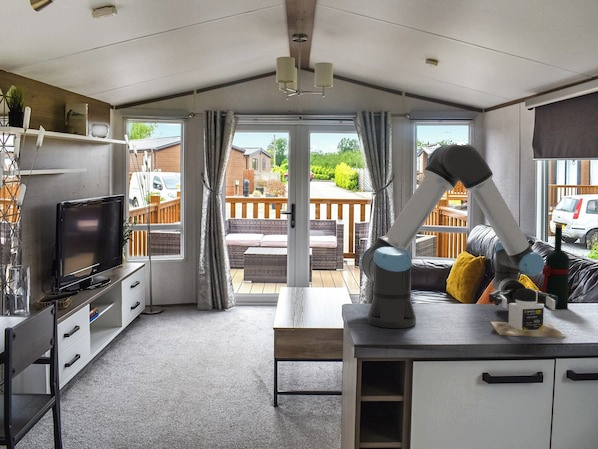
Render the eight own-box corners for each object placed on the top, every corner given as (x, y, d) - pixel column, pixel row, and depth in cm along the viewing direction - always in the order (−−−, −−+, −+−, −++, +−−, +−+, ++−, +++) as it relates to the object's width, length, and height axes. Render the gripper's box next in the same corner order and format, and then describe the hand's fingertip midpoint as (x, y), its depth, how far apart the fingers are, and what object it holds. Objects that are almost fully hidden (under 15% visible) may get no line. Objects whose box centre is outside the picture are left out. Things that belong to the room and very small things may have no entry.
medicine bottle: (522, 331, 166) (523, 291, 166) (507, 325, 173) (509, 287, 173) (543, 330, 168) (544, 290, 167) (528, 324, 175) (529, 286, 174)
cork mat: (499, 335, 165) (499, 333, 165) (490, 323, 179) (490, 321, 179) (564, 337, 163) (564, 335, 162) (550, 325, 176) (550, 323, 176)
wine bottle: (533, 305, 205) (536, 223, 203) (557, 304, 208) (560, 223, 206) (548, 310, 198) (551, 225, 196) (572, 309, 200) (576, 224, 198)
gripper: (551, 303, 186) (573, 318, 165) (473, 300, 190) (485, 315, 169) (552, 280, 186) (574, 293, 165) (474, 278, 189) (486, 290, 168)
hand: (529, 304), depth 167 cm, fingers open, 13 cm apart
